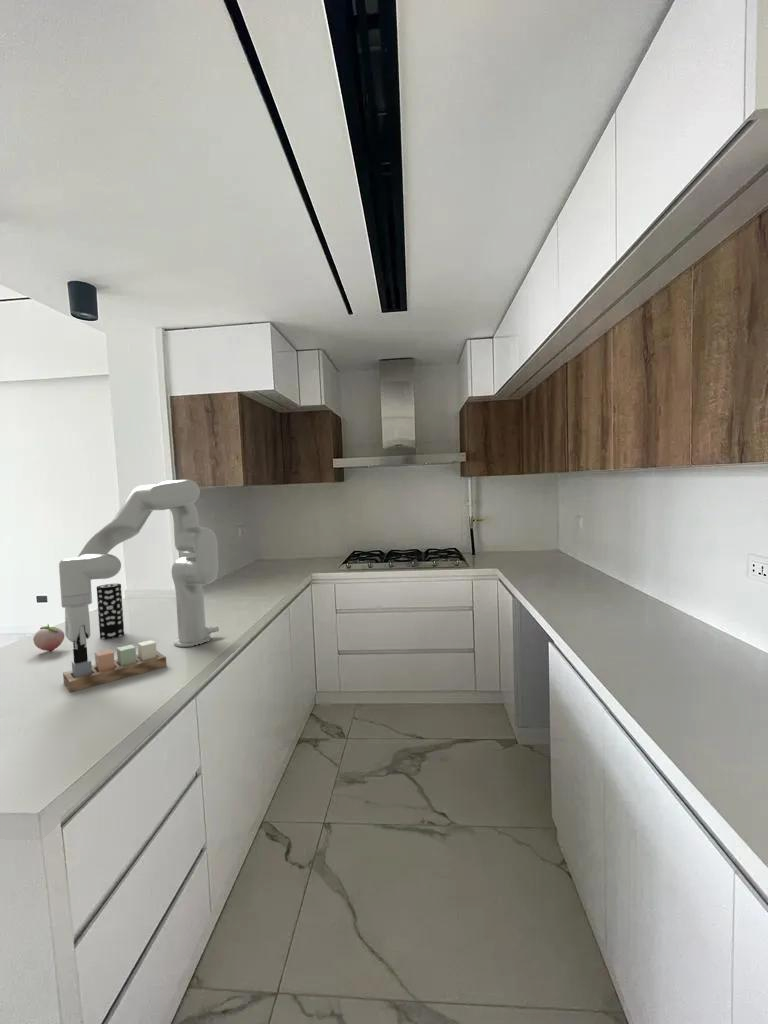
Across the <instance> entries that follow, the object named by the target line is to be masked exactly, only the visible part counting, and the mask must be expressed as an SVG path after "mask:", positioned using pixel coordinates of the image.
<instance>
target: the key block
mask: <svg viewBox="0 0 768 1024" xmlns="http://www.w3.org/2000/svg"><path fill="white" fill-rule="evenodd" d="M156 653H157V657H155V658H151V659H147V660H143V661H141V660H140V659H139V655H138V653H136V662H135V663H131V664H127V665H123V666H120V665H119V664H118V658H116V659H114V662H115V668H111V669H107V670H103V671H99V672H98V671H97V670H96V664H93V665H92V674H88V675H84V676H80V677H76V678H73V673H72V670H68V671H64V672H62V676H63V684H64V685H65V687H66V688H67V689H68V692H69V693H72V692H77V691H80V690H83V689H87V687H88V688H92V687H94V686H99V685H102V684H101V683H103V684H105V682H106V683H110V682H113V680H114V681H116V680H117V679H118V680H120V678H121V679H125V678H128V676H129V677H132V676H136V675H139V674H143V673H146V672H150V671H155V670H157V669H161V668H165V667H167V666H168V665H167V657H166V655H164V654H162V653H161V652H160V651H158V650H157V649H156ZM124 677H125V678H124ZM109 681H110V682H109ZM98 684H99V685H98ZM91 686H92V687H91Z"/></svg>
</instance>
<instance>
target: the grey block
mask: <svg viewBox="0 0 768 1024" xmlns="http://www.w3.org/2000/svg"><path fill="white" fill-rule="evenodd" d="M71 669H72V670H71V671H72V673H73V678H76V677H80V676H84V675H88V674H92V660H91V659H90V658H89V657H88V660H87V661H84V662H80V663H75V662H74V660H72V661H71Z"/></svg>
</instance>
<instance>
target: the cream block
mask: <svg viewBox="0 0 768 1024" xmlns="http://www.w3.org/2000/svg"><path fill="white" fill-rule="evenodd" d="M156 650H157V642H156V641H154V640H153V639H150V640H146V641H141V642H137V651H138V653H137V654H138V655H139V659H140V660H141V661H143V660H147V659H151V658H155V657H157V653H156Z"/></svg>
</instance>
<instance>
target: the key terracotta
mask: <svg viewBox="0 0 768 1024" xmlns="http://www.w3.org/2000/svg"><path fill="white" fill-rule="evenodd" d="M94 660H95V661H94V662H95V665H96V670H97V671H98V672H99V671H103V670H107V669H111V668H115V662H114V660H115V652H114V651H113V650H112V649H105V650H102V651H101V650H100V651H97V652H95V653H94Z"/></svg>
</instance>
